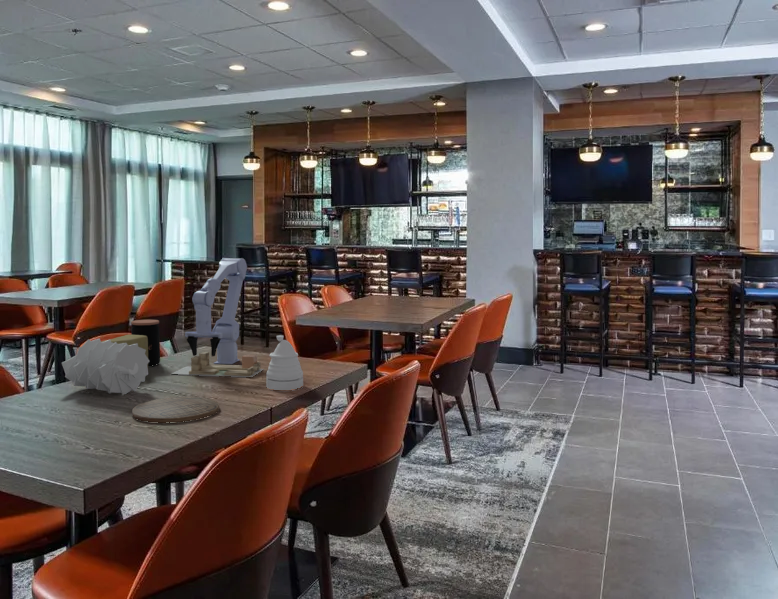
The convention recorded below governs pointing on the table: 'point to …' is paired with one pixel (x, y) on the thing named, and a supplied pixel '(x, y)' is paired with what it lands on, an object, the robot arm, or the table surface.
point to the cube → (249, 361)
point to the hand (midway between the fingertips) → (204, 355)
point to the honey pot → (284, 368)
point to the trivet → (175, 409)
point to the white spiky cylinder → (107, 366)
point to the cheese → (133, 341)
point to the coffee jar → (149, 337)
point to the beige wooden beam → (222, 367)
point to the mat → (221, 373)
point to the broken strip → (197, 369)
